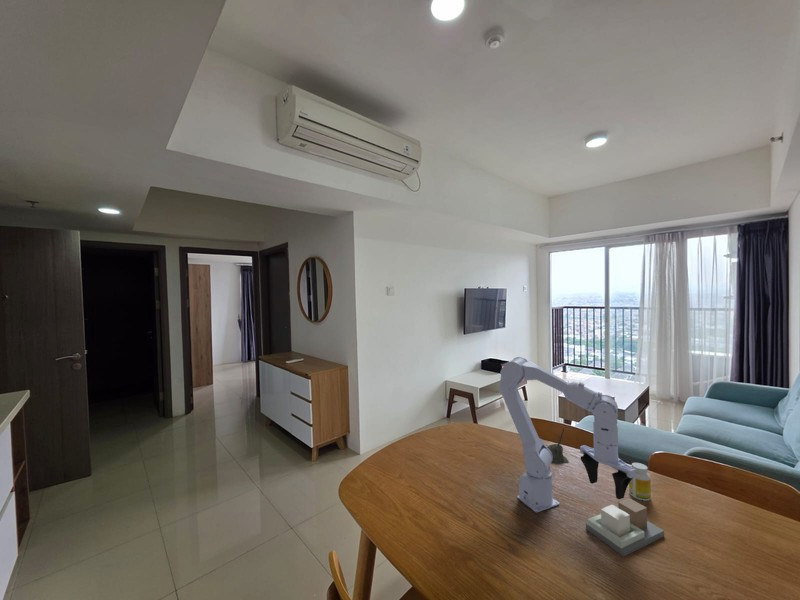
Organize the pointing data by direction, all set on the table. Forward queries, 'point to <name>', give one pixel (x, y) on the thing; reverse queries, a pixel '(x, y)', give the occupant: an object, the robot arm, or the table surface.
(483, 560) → the table surface
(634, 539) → the base plate
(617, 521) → the block
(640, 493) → the supplement bottle
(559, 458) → the sword in stone
